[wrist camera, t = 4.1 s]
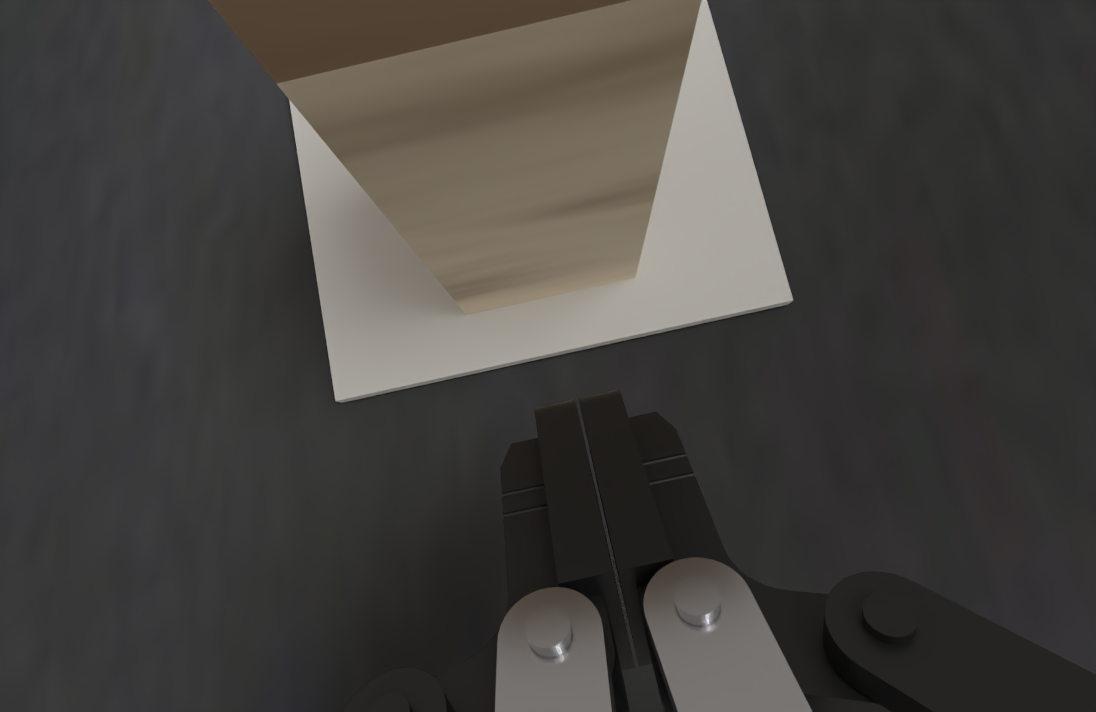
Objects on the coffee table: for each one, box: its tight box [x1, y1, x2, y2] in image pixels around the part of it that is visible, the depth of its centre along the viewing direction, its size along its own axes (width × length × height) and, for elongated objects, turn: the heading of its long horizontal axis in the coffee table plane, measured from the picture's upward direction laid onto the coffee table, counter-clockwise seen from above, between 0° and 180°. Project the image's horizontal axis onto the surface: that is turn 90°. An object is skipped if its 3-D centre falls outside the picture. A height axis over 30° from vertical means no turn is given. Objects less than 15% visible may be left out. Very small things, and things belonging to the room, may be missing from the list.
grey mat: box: [289, 0, 793, 403], centre depth 25 cm, size 24×16×1 cm, turn 12°
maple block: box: [208, 0, 702, 315], centre depth 15 cm, size 6×6×16 cm
